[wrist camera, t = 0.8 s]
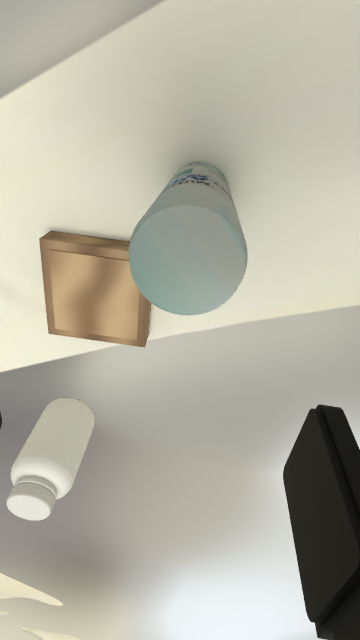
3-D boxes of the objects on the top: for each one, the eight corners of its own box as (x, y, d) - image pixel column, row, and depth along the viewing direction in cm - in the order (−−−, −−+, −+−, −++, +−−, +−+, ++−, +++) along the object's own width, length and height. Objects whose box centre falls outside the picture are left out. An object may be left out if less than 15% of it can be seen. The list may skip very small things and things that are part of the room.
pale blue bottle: (189, 237, 38) (171, 336, 20) (155, 185, 35) (100, 247, 18) (241, 204, 35) (270, 282, 18) (208, 146, 33) (205, 172, 16)
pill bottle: (98, 434, 55) (63, 530, 42) (50, 429, 55) (0, 523, 42) (95, 398, 51) (55, 491, 38) (42, 392, 51) (-14, 484, 38)
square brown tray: (155, 245, 38) (151, 255, 36) (148, 334, 44) (144, 348, 42) (51, 230, 38) (38, 239, 36) (58, 321, 45) (47, 334, 42)
